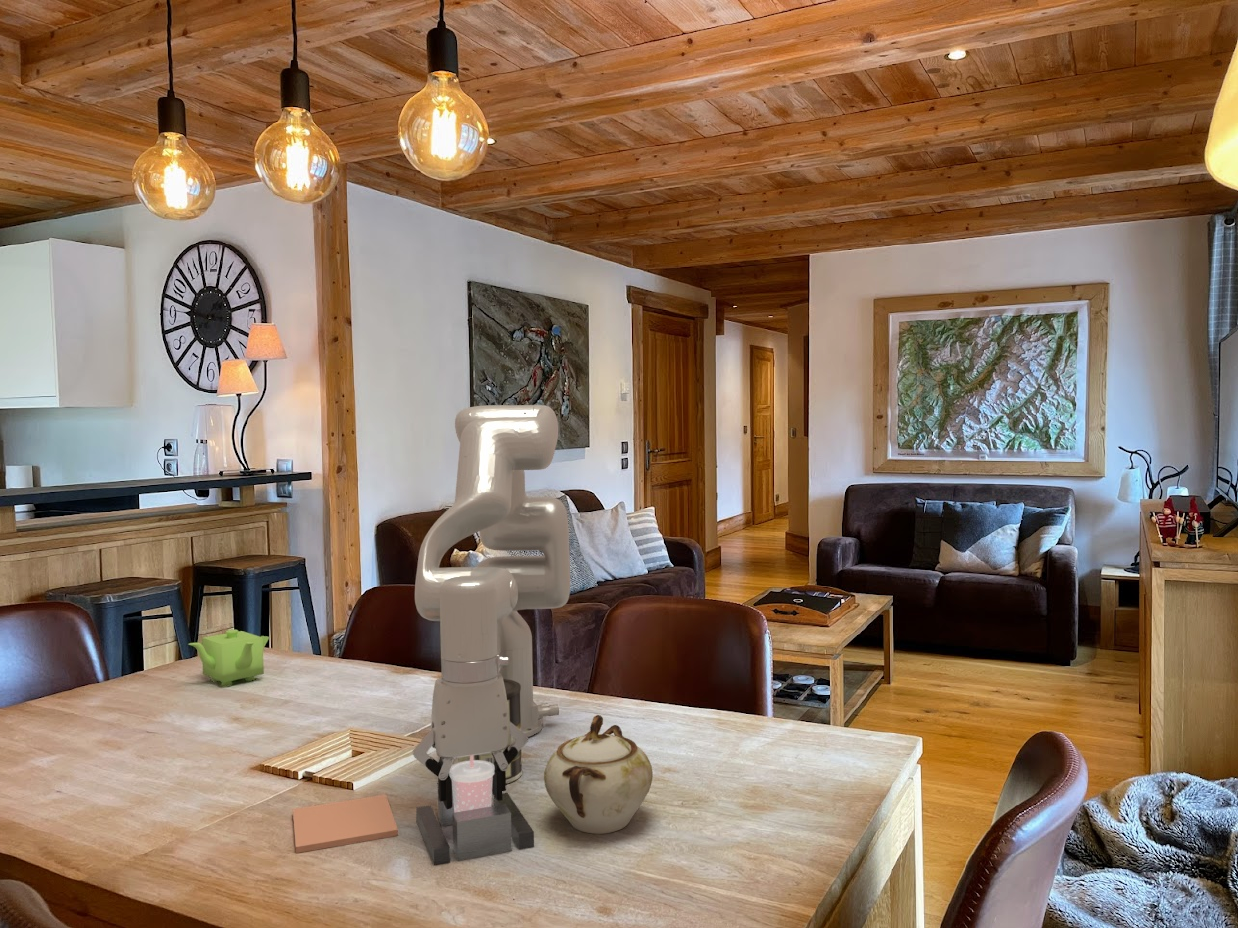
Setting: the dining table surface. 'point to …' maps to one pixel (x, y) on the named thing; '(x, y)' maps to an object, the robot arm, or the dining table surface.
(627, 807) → the sugar bowl
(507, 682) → the coffee can
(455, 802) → the beverage cup
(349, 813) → the terracotta tile
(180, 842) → the dining table surface
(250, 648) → the kettle
